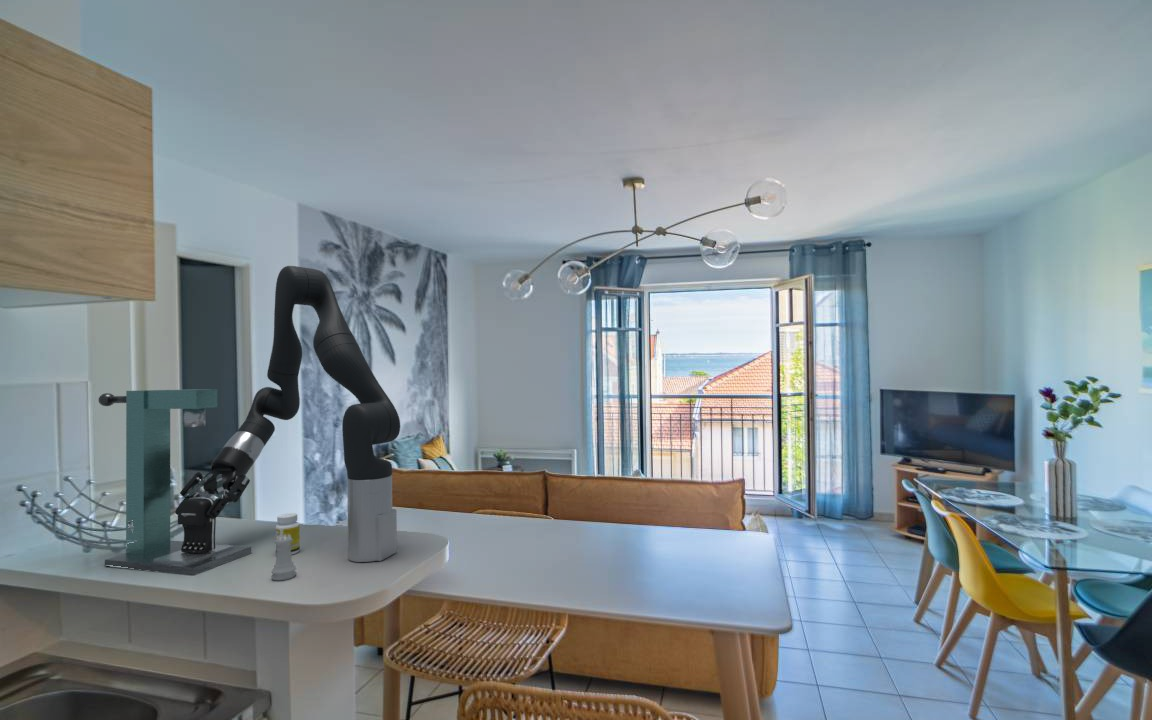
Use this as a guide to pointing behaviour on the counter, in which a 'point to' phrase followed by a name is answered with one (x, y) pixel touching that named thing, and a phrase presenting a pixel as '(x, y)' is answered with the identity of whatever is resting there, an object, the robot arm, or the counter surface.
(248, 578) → the counter surface
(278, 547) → the rook chess piece
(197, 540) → the battery
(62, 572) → the counter surface
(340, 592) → the counter surface
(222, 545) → the arbor press
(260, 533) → the counter surface
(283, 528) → the supplement bottle
